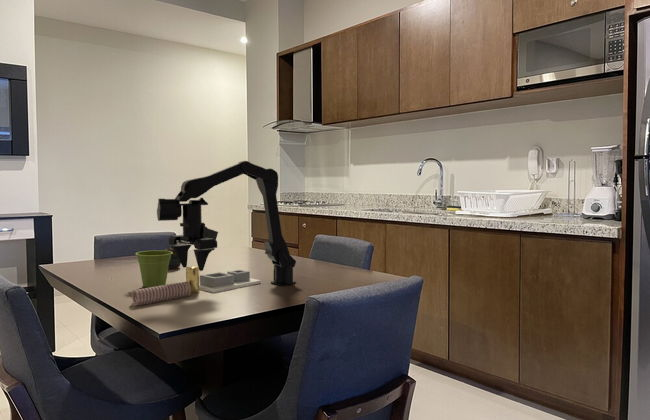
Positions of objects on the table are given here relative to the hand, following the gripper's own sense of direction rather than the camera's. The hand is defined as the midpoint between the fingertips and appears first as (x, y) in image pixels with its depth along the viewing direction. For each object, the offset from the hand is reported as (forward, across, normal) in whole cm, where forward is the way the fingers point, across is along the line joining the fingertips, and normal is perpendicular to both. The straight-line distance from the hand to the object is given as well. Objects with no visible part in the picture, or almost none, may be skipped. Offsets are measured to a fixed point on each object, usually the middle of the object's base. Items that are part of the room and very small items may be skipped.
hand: (192, 269), depth 154 cm
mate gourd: (+8, +44, -19) cm, 49 cm away
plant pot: (+8, +18, +3) cm, 20 cm away
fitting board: (+8, +1, -14) cm, 16 cm away
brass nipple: (+8, 0, 0) cm, 8 cm away
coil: (+8, -2, +12) cm, 15 cm away
